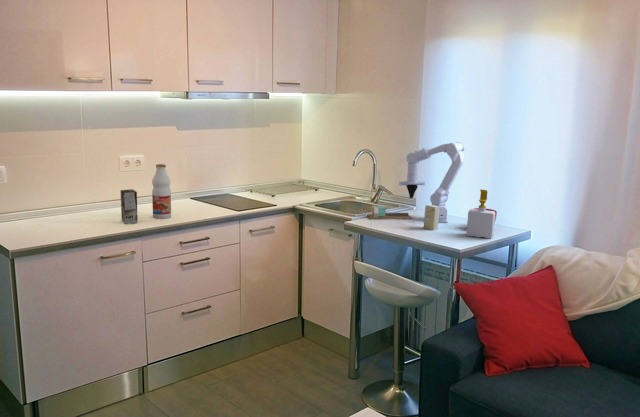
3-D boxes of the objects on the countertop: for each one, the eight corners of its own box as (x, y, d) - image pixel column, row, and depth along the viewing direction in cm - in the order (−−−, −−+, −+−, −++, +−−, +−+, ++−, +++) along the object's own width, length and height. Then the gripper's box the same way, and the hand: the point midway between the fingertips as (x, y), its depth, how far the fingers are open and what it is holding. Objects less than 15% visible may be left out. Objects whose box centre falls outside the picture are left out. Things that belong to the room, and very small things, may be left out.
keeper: (385, 216, 323) (385, 207, 322) (378, 216, 322) (378, 207, 321) (382, 214, 328) (383, 206, 327) (375, 214, 327) (376, 206, 326)
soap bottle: (466, 236, 288) (469, 189, 283) (468, 233, 294) (472, 187, 289) (491, 239, 283) (495, 191, 278) (493, 236, 289) (497, 189, 284)
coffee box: (138, 223, 295) (137, 191, 291) (125, 224, 291) (123, 192, 288) (134, 219, 302) (133, 188, 299) (121, 220, 299) (120, 189, 296)
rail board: (412, 219, 324) (412, 208, 323) (370, 219, 320) (370, 208, 318) (407, 215, 332) (407, 205, 331) (366, 216, 328) (366, 205, 327)
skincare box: (423, 228, 302) (424, 205, 300) (428, 227, 305) (429, 204, 303) (433, 230, 298) (435, 207, 295) (438, 229, 301) (440, 206, 298)
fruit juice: (174, 216, 312) (173, 164, 307) (163, 219, 304) (162, 166, 299) (160, 214, 316) (159, 163, 311) (149, 217, 308) (147, 164, 302)
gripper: (422, 173, 333) (420, 196, 335) (397, 173, 330) (396, 196, 332) (426, 174, 326) (425, 198, 328) (402, 174, 323) (400, 199, 326)
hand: (411, 198), depth 330 cm, fingers closed
